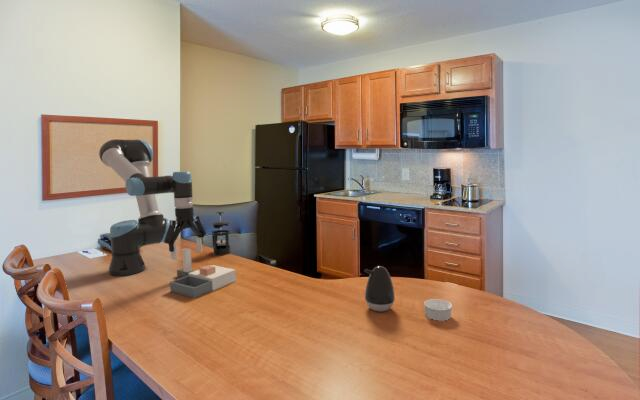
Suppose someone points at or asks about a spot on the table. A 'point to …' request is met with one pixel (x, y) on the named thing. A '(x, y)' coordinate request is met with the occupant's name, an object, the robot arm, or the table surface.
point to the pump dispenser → (379, 289)
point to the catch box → (191, 286)
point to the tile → (207, 270)
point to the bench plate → (217, 276)
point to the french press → (221, 248)
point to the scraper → (185, 264)
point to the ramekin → (438, 309)
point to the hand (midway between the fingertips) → (187, 255)
